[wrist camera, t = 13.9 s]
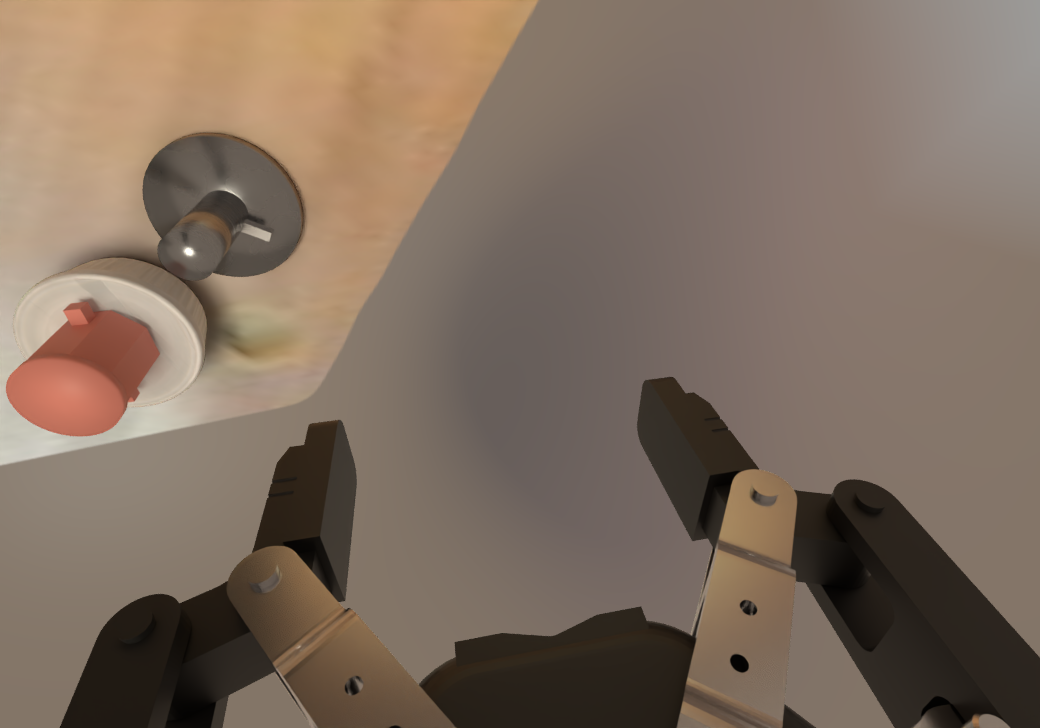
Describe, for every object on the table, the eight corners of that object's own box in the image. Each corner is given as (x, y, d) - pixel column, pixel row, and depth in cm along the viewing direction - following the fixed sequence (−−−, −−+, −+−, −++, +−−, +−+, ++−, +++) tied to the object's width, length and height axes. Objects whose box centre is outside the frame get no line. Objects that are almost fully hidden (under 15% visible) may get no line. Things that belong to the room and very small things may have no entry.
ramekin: (240, 286, 41) (222, 318, 37) (197, 387, 46) (175, 427, 42) (71, 215, 36) (27, 243, 32) (40, 336, 41) (-2, 376, 37)
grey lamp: (137, 240, 38) (74, 297, 31) (162, 104, 34) (95, 133, 26) (282, 289, 42) (256, 350, 35) (320, 173, 38) (300, 216, 30)
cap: (36, 302, 34) (-27, 354, 29) (131, 292, 35) (86, 341, 30) (94, 393, 39) (48, 452, 34) (178, 383, 39) (145, 439, 34)
